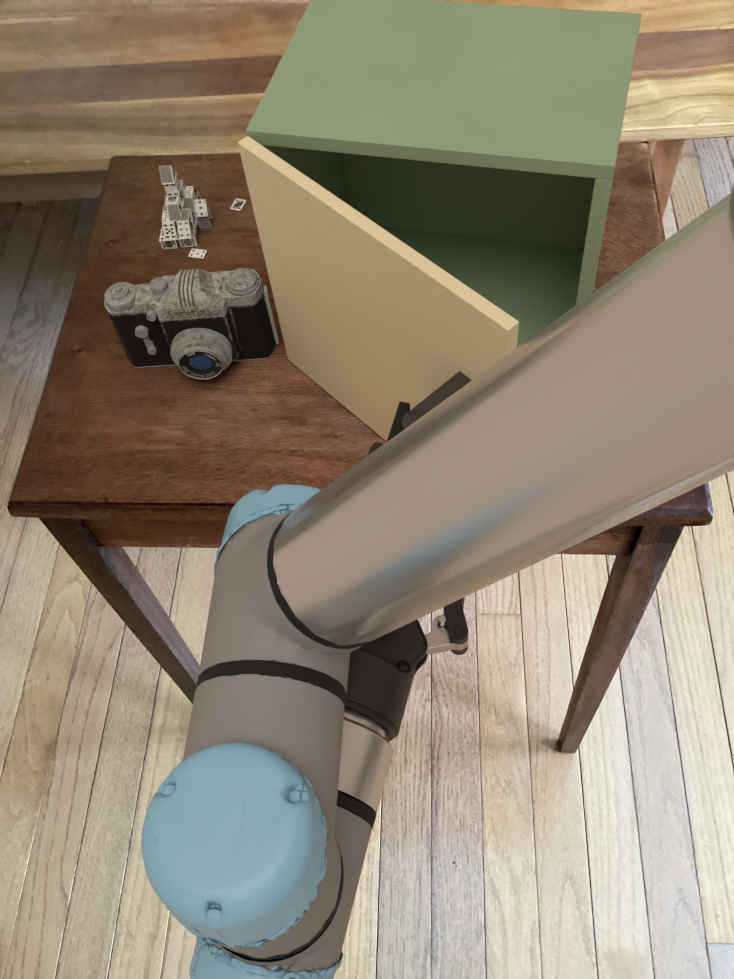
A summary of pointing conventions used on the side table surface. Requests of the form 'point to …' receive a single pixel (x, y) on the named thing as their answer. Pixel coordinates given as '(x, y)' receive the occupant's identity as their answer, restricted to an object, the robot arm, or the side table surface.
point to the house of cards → (184, 213)
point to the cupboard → (463, 134)
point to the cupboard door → (366, 301)
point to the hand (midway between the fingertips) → (428, 417)
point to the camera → (194, 320)
